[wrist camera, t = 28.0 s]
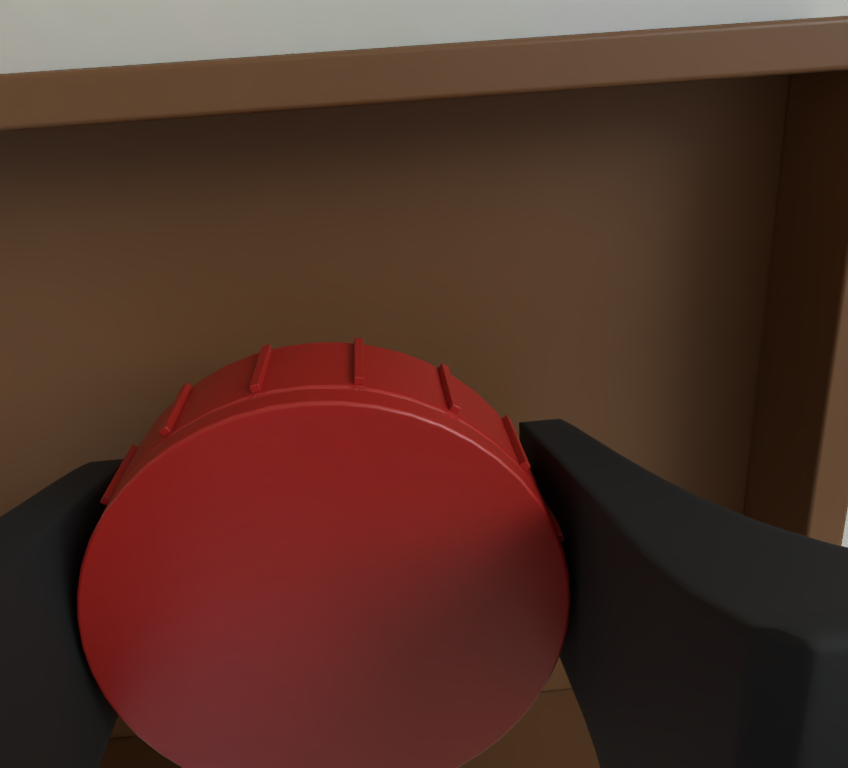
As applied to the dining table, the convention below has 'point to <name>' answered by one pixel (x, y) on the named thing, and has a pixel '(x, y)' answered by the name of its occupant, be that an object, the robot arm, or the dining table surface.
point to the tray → (451, 256)
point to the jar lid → (324, 569)
